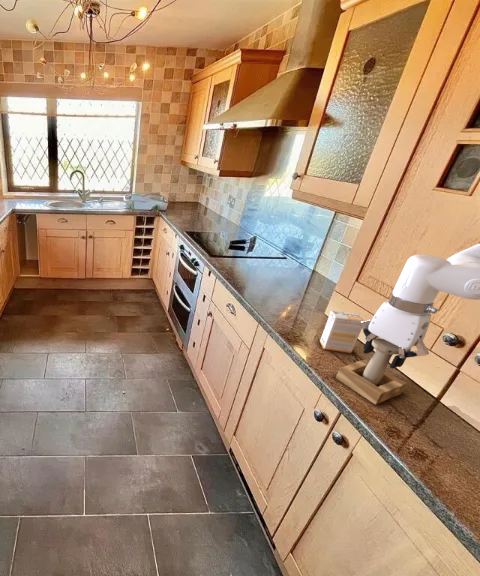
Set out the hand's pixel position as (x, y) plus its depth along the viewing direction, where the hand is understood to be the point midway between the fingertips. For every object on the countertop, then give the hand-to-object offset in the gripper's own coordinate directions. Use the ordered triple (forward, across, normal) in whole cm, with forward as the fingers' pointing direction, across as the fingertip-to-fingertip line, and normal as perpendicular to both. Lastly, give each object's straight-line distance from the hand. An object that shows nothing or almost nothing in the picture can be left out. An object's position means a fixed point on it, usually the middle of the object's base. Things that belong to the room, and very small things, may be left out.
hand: (380, 358), depth 86 cm
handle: (+10, 0, 0) cm, 10 cm away
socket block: (+10, 0, 0) cm, 10 cm away
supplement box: (+10, +16, -9) cm, 21 cm away
